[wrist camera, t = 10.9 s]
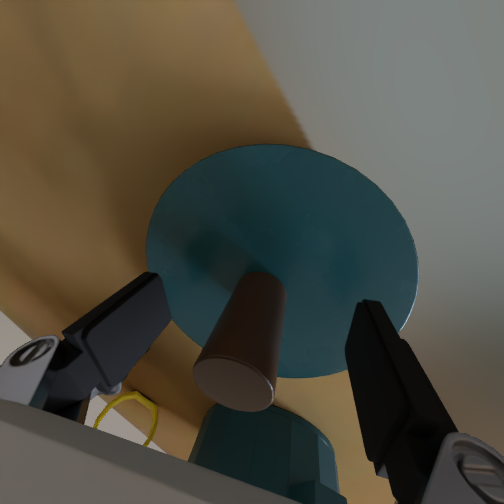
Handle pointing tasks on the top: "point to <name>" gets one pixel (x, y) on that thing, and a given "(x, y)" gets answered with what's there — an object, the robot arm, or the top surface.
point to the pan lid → (276, 265)
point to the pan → (269, 453)
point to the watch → (143, 401)
